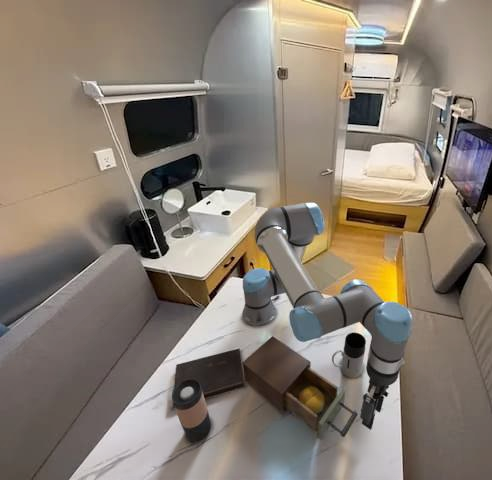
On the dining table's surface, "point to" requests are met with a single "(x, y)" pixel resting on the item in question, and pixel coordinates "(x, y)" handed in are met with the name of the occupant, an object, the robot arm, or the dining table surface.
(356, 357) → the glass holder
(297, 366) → the cabinet
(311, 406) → the bread roll
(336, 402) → the drawer
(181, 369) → the hardcover book
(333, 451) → the dining table surface
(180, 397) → the travel mug
